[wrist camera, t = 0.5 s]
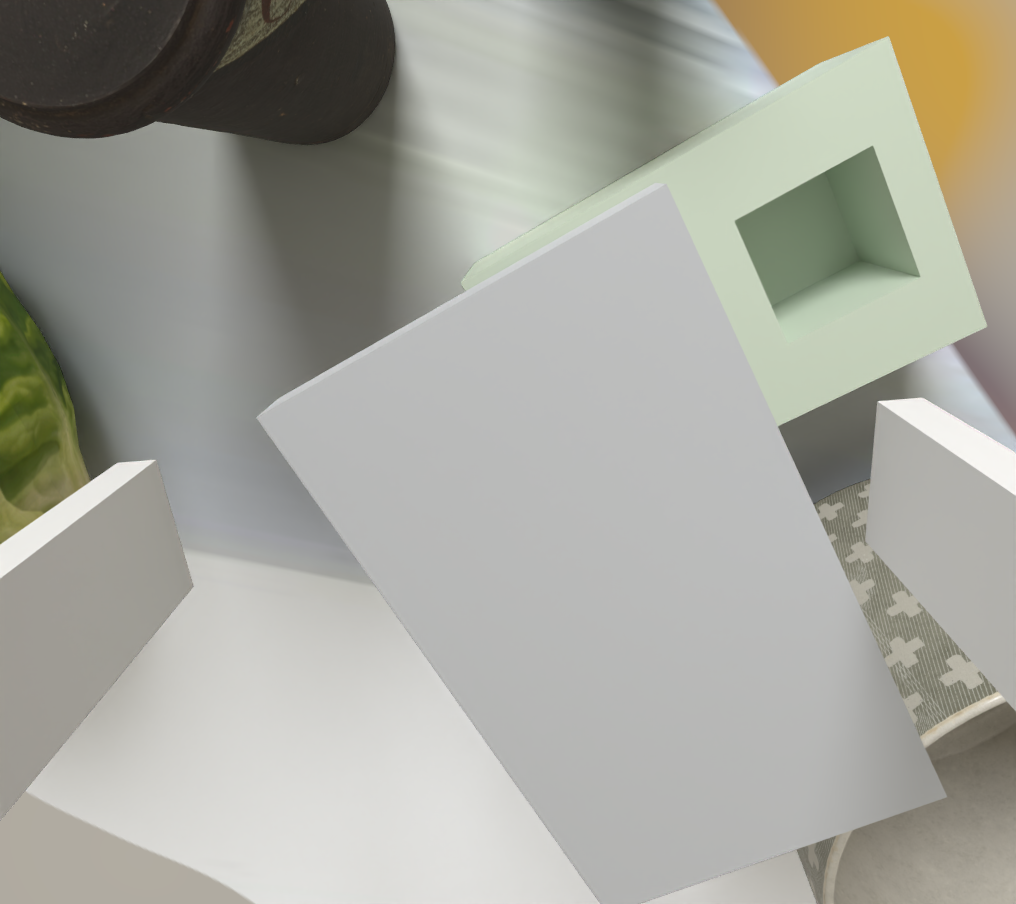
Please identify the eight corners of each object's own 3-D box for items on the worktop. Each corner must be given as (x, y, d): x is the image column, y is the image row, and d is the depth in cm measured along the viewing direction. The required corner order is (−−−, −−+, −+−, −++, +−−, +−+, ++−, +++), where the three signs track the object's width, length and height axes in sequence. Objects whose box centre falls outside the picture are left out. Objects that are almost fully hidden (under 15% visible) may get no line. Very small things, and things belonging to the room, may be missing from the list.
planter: (646, 602, 43) (714, 879, 26) (915, 376, 38) (1222, 541, 21) (848, 777, 47) (1021, 1115, 30) (1118, 596, 42) (1512, 885, 25)
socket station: (568, 485, 41) (607, 914, 17) (438, 260, 36) (255, 417, 13) (913, 316, 37) (1587, 574, 13) (810, 41, 32) (1527, -306, 9)
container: (440, 55, 33) (314, -95, 15) (308, 194, 36) (53, 216, 17) (302, -115, 31) (-52, -544, 12) (171, 45, 34) (-291, -116, 15)
